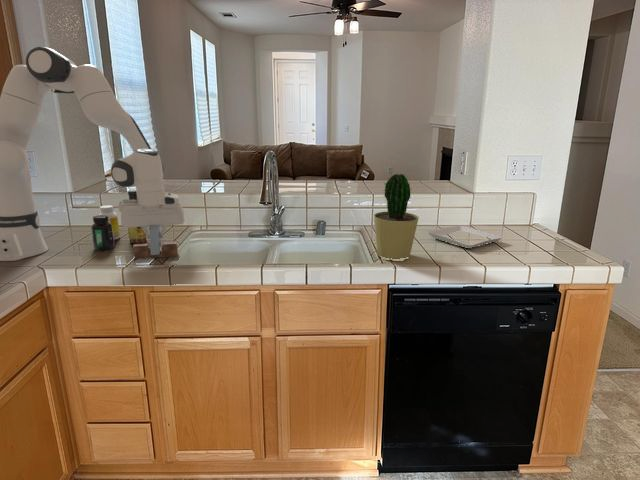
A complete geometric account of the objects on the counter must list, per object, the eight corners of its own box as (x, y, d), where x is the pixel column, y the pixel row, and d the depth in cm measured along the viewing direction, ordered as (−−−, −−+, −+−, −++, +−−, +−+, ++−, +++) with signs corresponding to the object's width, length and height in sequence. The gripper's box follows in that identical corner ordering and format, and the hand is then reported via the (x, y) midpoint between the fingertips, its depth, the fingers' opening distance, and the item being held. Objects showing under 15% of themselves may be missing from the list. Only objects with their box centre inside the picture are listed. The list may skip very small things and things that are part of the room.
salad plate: (502, 244, 171) (503, 236, 170) (469, 253, 160) (470, 244, 159) (458, 232, 188) (459, 224, 187) (425, 239, 176) (426, 231, 175)
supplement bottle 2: (102, 252, 154) (97, 219, 150) (90, 249, 157) (85, 217, 153) (118, 247, 159) (115, 215, 156) (106, 244, 162) (102, 213, 159)
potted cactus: (410, 250, 161) (417, 169, 153) (419, 264, 147) (427, 175, 138) (369, 249, 161) (373, 168, 153) (374, 263, 147) (378, 175, 138)
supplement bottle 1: (120, 235, 174) (117, 204, 170) (119, 240, 168) (115, 207, 164) (102, 236, 172) (98, 205, 168) (100, 241, 166) (95, 208, 162)
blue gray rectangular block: (151, 255, 144) (148, 229, 141) (154, 244, 155) (151, 220, 152) (159, 254, 145) (156, 228, 142) (161, 243, 156) (158, 219, 153)
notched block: (134, 259, 147) (133, 246, 146) (135, 256, 149) (134, 244, 148) (177, 255, 151) (176, 243, 150) (177, 253, 153) (176, 241, 152)
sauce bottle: (141, 244, 163) (135, 192, 157) (126, 243, 164) (120, 191, 158) (150, 239, 169) (145, 189, 163) (136, 238, 170) (130, 188, 164)
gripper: (116, 201, 139) (121, 242, 143) (182, 198, 144) (185, 238, 148) (119, 197, 145) (124, 237, 149) (182, 195, 150) (186, 233, 154)
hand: (155, 237), depth 149 cm, fingers closed on blue gray rectangular block, 2 cm apart
